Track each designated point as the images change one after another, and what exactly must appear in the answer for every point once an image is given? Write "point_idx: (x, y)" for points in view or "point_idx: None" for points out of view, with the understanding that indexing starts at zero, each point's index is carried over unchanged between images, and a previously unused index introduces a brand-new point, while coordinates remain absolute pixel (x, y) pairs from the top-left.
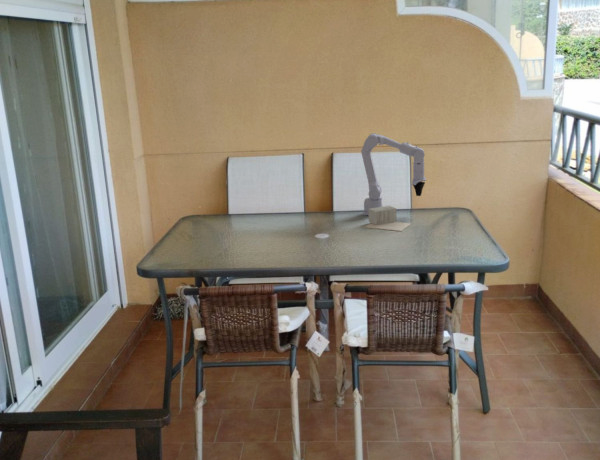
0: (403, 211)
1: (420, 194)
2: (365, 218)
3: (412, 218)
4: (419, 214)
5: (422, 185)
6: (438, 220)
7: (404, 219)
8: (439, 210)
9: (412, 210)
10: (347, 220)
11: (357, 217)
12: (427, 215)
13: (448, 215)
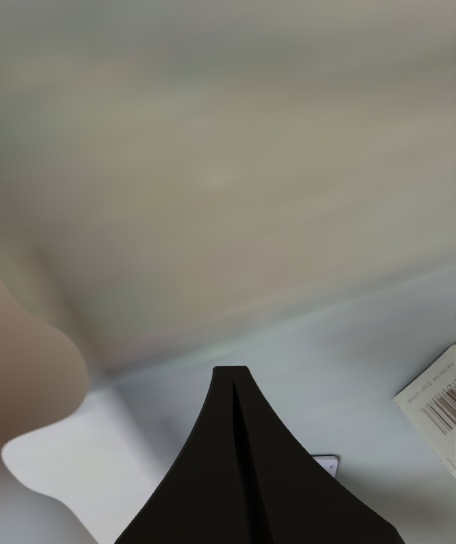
0: (178, 394)
1: (249, 376)
2: (379, 487)
3: (337, 287)
4: (219, 281)
5: (300, 515)
6: (362, 75)
7: (371, 322)
8: (32, 176)
9: (130, 358)
10: (424, 526)
11: None
12: (229, 218)
13: (168, 31)
